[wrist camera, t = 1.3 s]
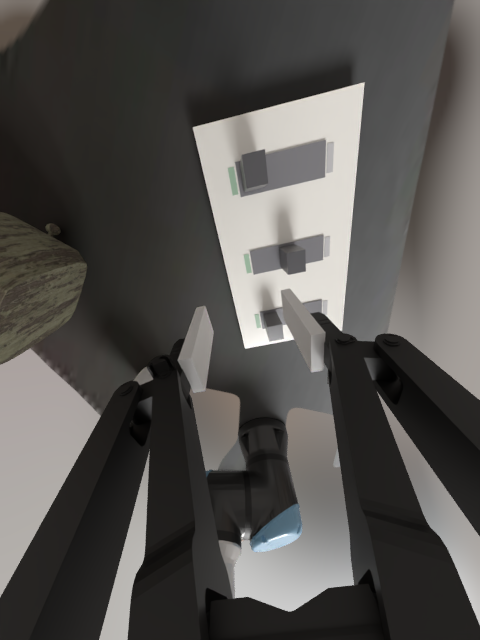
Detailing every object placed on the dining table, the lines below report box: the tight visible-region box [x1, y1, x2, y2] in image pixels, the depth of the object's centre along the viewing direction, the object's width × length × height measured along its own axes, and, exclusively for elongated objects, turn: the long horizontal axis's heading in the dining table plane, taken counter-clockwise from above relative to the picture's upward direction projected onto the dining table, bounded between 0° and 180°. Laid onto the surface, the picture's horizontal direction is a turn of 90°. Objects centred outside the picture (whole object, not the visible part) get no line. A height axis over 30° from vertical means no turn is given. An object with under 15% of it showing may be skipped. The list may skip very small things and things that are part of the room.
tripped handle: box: [279, 245, 306, 275], centre depth 27 cm, size 3×2×4 cm
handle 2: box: [263, 312, 284, 342], centre depth 33 cm, size 3×2×4 cm
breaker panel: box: [193, 83, 364, 349], centre depth 31 cm, size 34×20×3 cm, turn 11°
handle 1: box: [240, 149, 268, 193], centre depth 22 cm, size 3×2×4 cm
